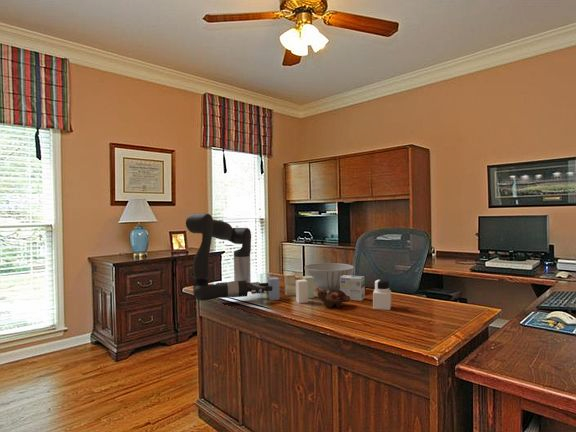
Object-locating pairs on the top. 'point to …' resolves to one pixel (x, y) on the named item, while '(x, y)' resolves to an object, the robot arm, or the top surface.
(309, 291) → the sage pillar
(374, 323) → the top surface
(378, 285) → the medicine bottle
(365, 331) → the top surface
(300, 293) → the ivory pillar
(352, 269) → the decorative bowl
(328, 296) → the decorative turtle
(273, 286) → the slate-blue pillar
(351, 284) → the light bulb box
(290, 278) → the maple pillar
